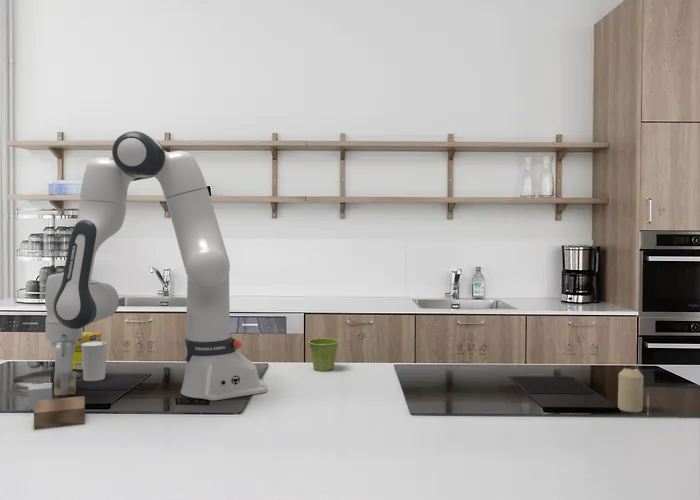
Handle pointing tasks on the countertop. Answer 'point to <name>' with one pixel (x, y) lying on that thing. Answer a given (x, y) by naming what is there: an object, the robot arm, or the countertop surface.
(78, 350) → the supplement box
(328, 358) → the plant pot
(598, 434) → the countertop surface
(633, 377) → the beige jar
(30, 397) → the grey block
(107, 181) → the robot arm
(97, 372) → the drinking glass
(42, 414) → the walnut block
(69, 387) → the ash block
